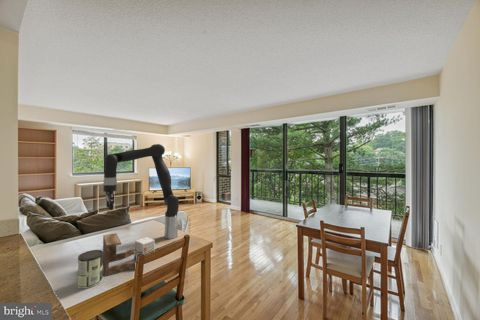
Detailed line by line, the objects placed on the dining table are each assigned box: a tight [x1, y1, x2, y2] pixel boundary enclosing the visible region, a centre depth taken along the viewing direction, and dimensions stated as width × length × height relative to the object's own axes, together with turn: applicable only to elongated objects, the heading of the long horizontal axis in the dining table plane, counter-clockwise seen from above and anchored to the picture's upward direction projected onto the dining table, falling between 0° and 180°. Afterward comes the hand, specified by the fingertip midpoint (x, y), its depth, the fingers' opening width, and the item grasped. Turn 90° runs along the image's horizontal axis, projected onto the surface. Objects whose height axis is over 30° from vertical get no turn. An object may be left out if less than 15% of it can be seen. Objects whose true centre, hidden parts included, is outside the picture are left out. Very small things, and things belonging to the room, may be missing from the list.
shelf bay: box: [102, 232, 137, 276], centre depth 123 cm, size 18×24×16 cm
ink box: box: [133, 236, 156, 261], centre depth 130 cm, size 9×8×12 cm
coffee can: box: [77, 249, 104, 289], centre depth 104 cm, size 10×10×14 cm
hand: (109, 208), depth 140 cm, fingers open, 8 cm apart
